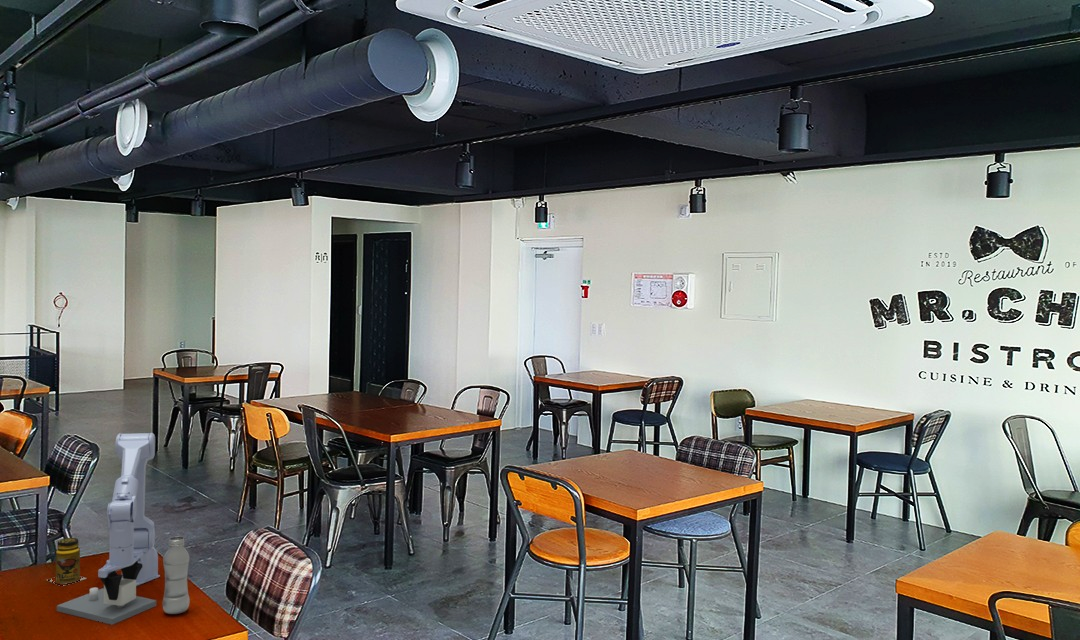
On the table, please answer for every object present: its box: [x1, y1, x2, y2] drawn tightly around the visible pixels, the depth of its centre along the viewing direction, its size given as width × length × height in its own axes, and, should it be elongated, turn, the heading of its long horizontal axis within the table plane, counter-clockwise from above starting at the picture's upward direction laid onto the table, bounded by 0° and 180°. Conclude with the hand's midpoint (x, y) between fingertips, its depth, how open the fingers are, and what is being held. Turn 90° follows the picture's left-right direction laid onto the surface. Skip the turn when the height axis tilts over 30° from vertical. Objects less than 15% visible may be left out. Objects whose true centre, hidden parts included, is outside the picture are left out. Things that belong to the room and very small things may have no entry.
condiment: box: [46, 537, 87, 587], centre depth 240 cm, size 7×8×12 cm
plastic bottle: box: [161, 536, 191, 615], centre depth 219 cm, size 6×7×20 cm
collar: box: [103, 578, 137, 606], centre depth 218 cm, size 5×5×5 cm
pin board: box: [56, 587, 157, 626], centre depth 220 cm, size 14×20×4 cm
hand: (121, 595), depth 218 cm, fingers closed on collar, 5 cm apart
